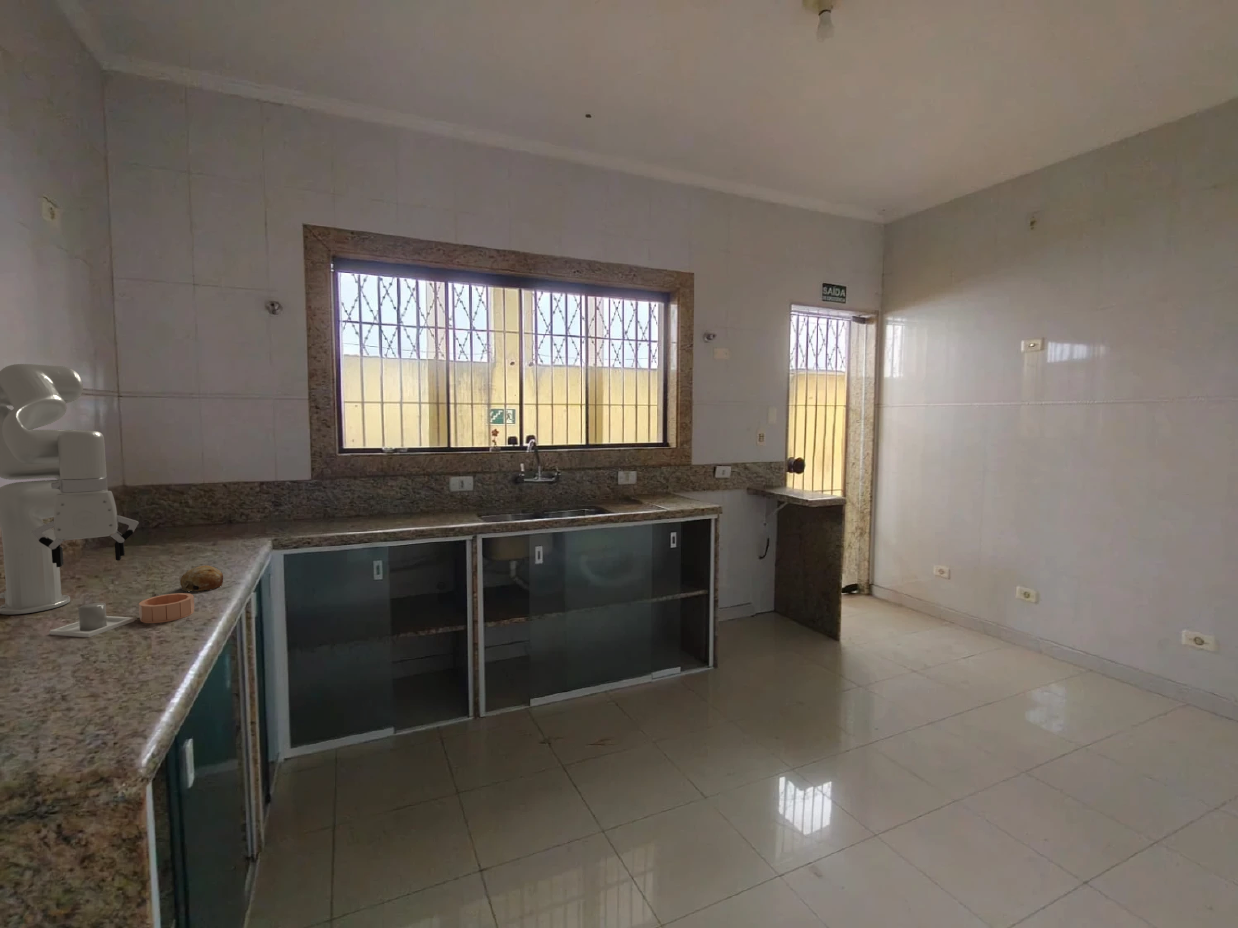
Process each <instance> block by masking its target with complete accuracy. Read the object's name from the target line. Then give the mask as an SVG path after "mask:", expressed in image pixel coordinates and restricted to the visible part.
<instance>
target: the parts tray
mask: <svg viewBox="0 0 1238 928" xmlns="http://www.w3.org/2000/svg"><path fill="white" fill-rule="evenodd" d="M106 618H107V626H105V627H102V628H99V629H97V630H92V631H80V626H79V620H78V621H75V622H72V623H69V624H66V625H63V626H60V627H59V626H58V627H56V628H53V629H51V630H49V635H50V636H65V637H79V638H91V637H94V636H97V635H100V634H103V633H106V632H108V631H111V630H114V629H117V628H121V627H123V626H125V625H128V624H131V623H134V622H135V621H136V620H135V617H133V616H132V617H129V616H114V615H113V616H112V615H106Z"/></svg>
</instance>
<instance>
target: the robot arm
mask: <svg viewBox="0 0 1238 928" xmlns="http://www.w3.org/2000/svg"><path fill="white" fill-rule="evenodd" d="M83 391H84V383H83V381H82V378H81V376H80V375H79V373H78V372H77V371H76V370H74V369H72V368H70V367H67V366H63V365H47V364H45V365H44V364H34V363H33V364H32V363H14V364H11V365H6V366H5V367H2V369H1V370H0V478H1V479H4V480H11V481H13V480H14V481H17V482H11V483H7V484H5V485H3V486H1V487H0V531H1V541H2V552H3V553H2V555H3V563H4V565H3V566H4V577H5V590H4V592H0V599H4V601H5V602H4V604H1V605H0V614H1V615H22V614H30V613H37V612H43V611H47V610H48V611H49V610H52V609H56V608H59V607H62V606H65V605H67V604H69V603H70V601H71V596H69V595H67V594H62V583H61V569H60V567H62V566H63V565H64V564H65V563H64V562H65V561H64V550H63V546H61V544H62V543H63V542H64V541H72V540H82V539H95V538H102V537H103V538H104V537H105V538H106V537H110V538H113V539H114V540H115V543H114V555H115V561H118V562H119V561H121V559H122V557H124V556H125V552H126V551H125V542H126V540H127V539H129V538H130V537H131V536H132V535H133V533H134V532H135V530H136V529H137V527H138V525H139V523H140V522H139V521H138V520H136V519H131V518H128V517H126V516H121V515H120V514H119V515H118V511H117V505H116V501H115V498H114V497H115V496H114V494H113V492H112V490H109V487H108V475H107V463H106V461H107V459H106V443H105V437H104V435H103V433H102V432H100V431H97V430H87V429H37V428H42V427H44V426H48V425H51V424H53V423H55V422H58V421H59V420H60V419H62V418H63V417H64V416H65V414H66V413H67V409H68V407H67V404H69V403H72V402H75V401H77V400H78V399H79V398H80V397H81V395H82V394H83ZM9 406H10V407H11V406H12V407H13V409H10V408H9ZM52 478H53V479H52ZM36 479H37V480H36ZM38 479H46V480H38ZM47 479H50V480H47ZM18 480H19V482H18ZM21 480H22V481H21ZM23 480H27V481H23ZM28 480H30V481H28ZM31 480H32V481H31ZM50 518H53V520H52V521H49V522H47V523H45V522H43V520H45V519H50ZM119 523H121V524H125V525H128V528H127V530H125V532H124V533H121V532H119V531H118V529H119Z"/></svg>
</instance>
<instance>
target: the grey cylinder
mask: <svg viewBox="0 0 1238 928" xmlns="http://www.w3.org/2000/svg"><path fill="white" fill-rule="evenodd" d="M77 608H78V610H77V611H78V621H79V626H80V631H92V630H97V629H99V628H102V627H105V626H107V618H106V616H107V605H106V603H105V602H91V603H87V604H83V605H81V606H78V607H77Z"/></svg>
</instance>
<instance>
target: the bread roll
mask: <svg viewBox="0 0 1238 928" xmlns="http://www.w3.org/2000/svg"><path fill="white" fill-rule="evenodd" d="M179 580H180V588H181V590H182V591H183V592H187V591H197V592H205V591H204V590H207V591H211V590H210V589H212V590H215V589H214V588H216V589H218V588H217V587H219V588H220V586H221V587H222V585H223V583H224V573H223V572H222V571H221V570H219V569H218V568H216V567H214V566H212V565H211V566H210V565H205V564H204V565H199V566H196V567H193V568H190V569H189V570H187V571H186V572H184V573H183V575H182V576H181V577H180V579H179Z"/></svg>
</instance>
